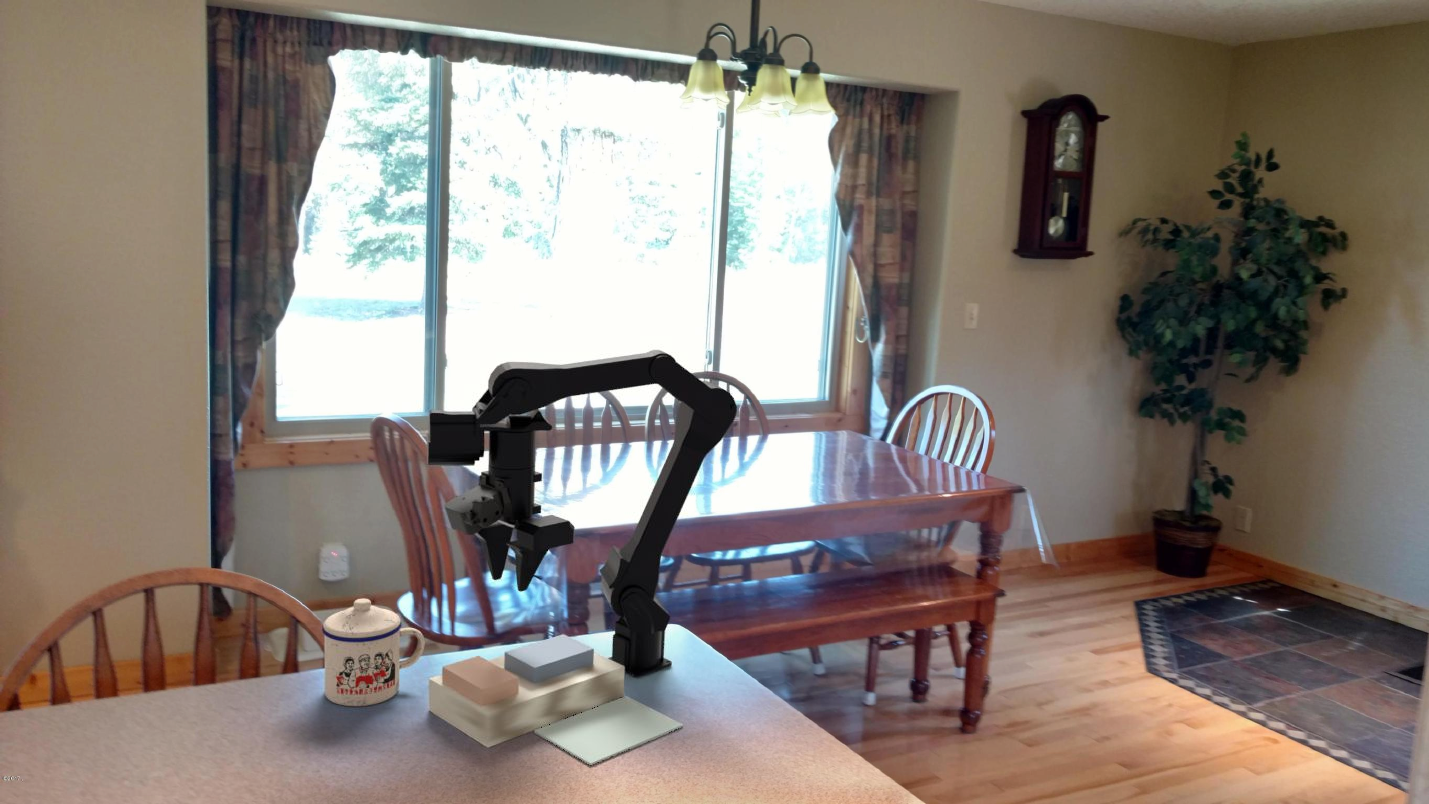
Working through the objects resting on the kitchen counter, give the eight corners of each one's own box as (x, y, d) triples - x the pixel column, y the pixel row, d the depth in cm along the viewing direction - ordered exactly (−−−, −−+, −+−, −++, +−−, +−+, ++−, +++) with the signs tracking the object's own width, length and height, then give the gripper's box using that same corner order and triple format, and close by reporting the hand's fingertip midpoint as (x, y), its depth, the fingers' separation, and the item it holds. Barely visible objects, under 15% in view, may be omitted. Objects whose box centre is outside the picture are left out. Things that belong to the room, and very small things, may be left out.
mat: (626, 698, 133) (626, 696, 133) (682, 727, 126) (682, 724, 126) (534, 732, 123) (534, 730, 123) (590, 766, 116) (590, 763, 116)
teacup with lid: (330, 714, 125) (329, 618, 123) (316, 683, 132) (315, 593, 131) (433, 696, 131) (434, 605, 129) (414, 668, 138) (415, 581, 136)
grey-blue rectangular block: (563, 649, 137) (563, 634, 136) (593, 664, 133) (593, 648, 132) (504, 667, 130) (504, 652, 130) (534, 683, 126) (534, 667, 126)
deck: (562, 666, 141) (563, 637, 141) (623, 697, 133) (624, 666, 132) (428, 710, 127) (429, 678, 126) (487, 747, 119) (488, 713, 118)
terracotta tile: (478, 671, 129) (478, 655, 129) (518, 693, 123) (518, 677, 123) (442, 682, 125) (442, 666, 125) (481, 706, 120) (481, 689, 120)
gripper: (414, 458, 134) (413, 578, 136) (502, 489, 121) (499, 621, 124) (489, 448, 142) (487, 561, 144) (579, 476, 129) (575, 600, 132)
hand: (509, 585), depth 136 cm, fingers open, 5 cm apart
